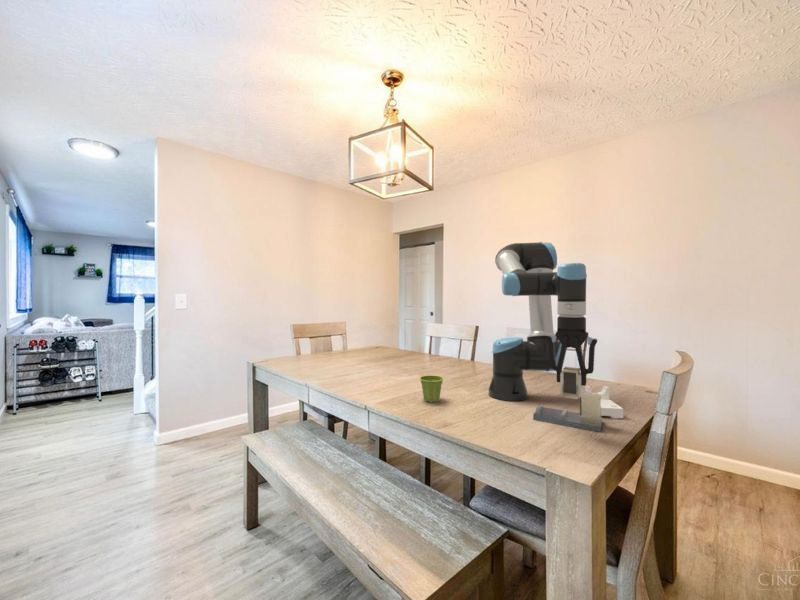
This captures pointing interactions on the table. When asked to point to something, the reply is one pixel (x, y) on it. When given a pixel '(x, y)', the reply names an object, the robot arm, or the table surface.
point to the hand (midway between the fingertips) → (571, 394)
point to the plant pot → (431, 387)
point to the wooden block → (570, 382)
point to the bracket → (607, 404)
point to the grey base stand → (575, 414)
